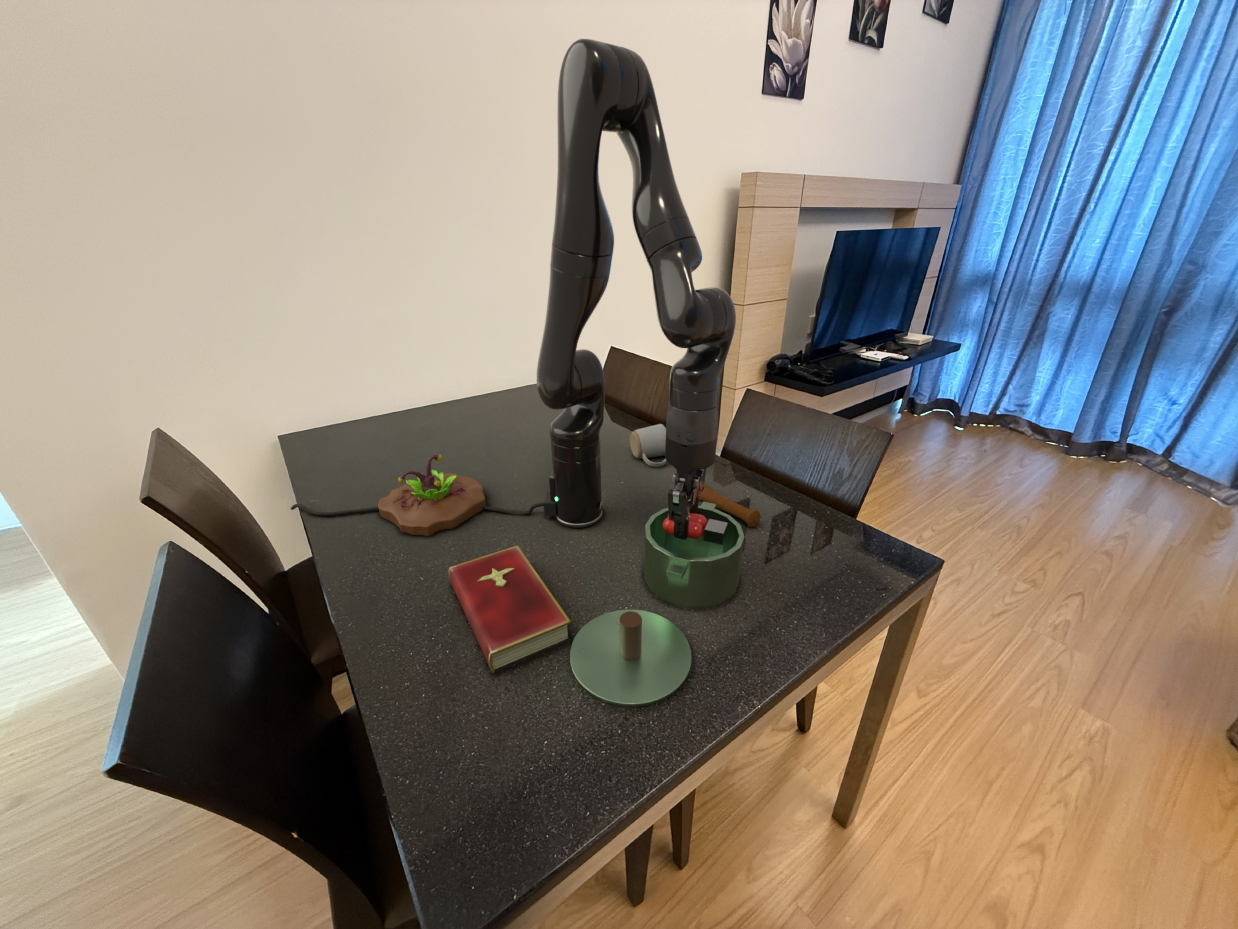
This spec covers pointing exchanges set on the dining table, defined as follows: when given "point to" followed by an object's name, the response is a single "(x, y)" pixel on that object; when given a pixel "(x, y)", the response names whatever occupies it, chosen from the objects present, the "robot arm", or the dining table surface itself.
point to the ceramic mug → (649, 443)
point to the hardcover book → (508, 606)
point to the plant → (432, 501)
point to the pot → (692, 561)
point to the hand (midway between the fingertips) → (685, 527)
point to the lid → (630, 658)
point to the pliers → (701, 528)
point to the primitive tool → (730, 506)
